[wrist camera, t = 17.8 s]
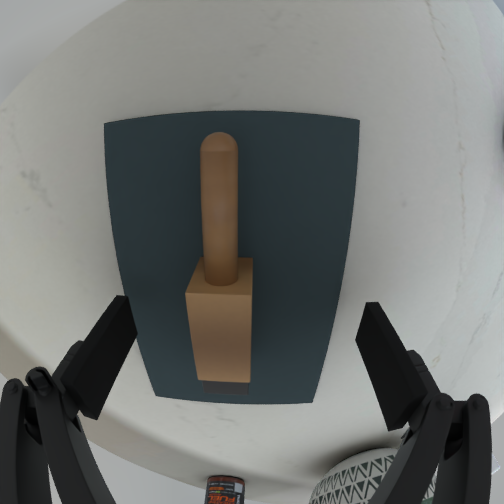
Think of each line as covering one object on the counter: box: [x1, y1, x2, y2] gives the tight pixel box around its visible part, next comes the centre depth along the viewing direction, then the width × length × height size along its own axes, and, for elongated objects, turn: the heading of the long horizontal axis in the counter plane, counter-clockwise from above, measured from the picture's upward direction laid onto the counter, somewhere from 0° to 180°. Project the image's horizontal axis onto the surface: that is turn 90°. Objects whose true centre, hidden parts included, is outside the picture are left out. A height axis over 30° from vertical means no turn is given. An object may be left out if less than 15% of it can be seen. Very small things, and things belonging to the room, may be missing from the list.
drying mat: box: [104, 111, 360, 404], centre depth 17 cm, size 22×14×1 cm, turn 179°
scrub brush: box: [185, 132, 253, 395], centre depth 14 cm, size 15×3×4 cm, turn 179°
